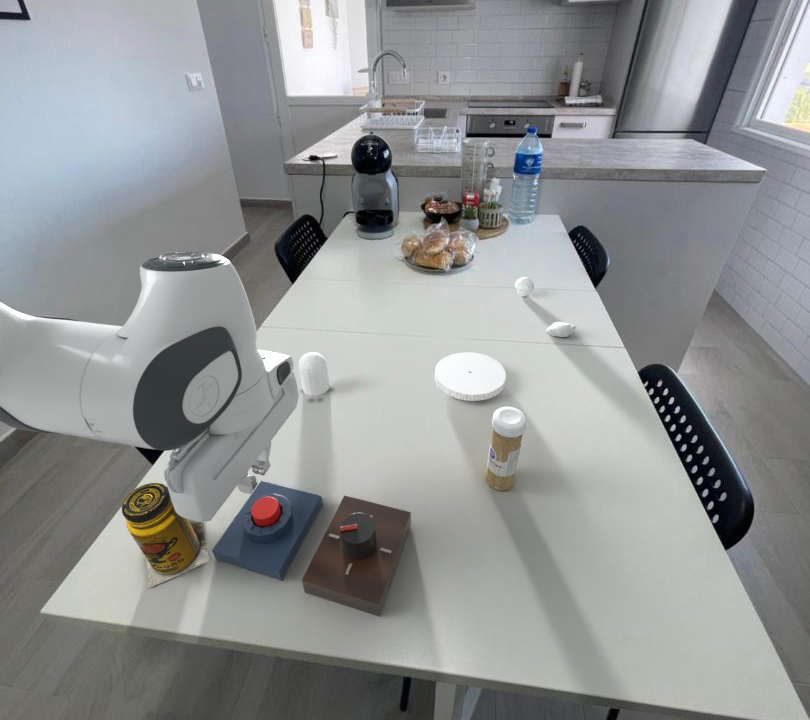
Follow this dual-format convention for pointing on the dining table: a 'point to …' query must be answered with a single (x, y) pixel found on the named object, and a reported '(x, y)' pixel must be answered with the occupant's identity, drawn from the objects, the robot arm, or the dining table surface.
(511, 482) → the sprinkles bottle
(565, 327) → the dumpling
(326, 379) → the capsule
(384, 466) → the dining table surface
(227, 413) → the robot arm
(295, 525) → the button housing
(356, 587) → the dial panel
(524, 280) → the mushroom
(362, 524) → the dial
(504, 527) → the dining table surface
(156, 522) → the condiment
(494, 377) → the plastic lid
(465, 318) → the dining table surface
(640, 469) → the dining table surface
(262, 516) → the button
